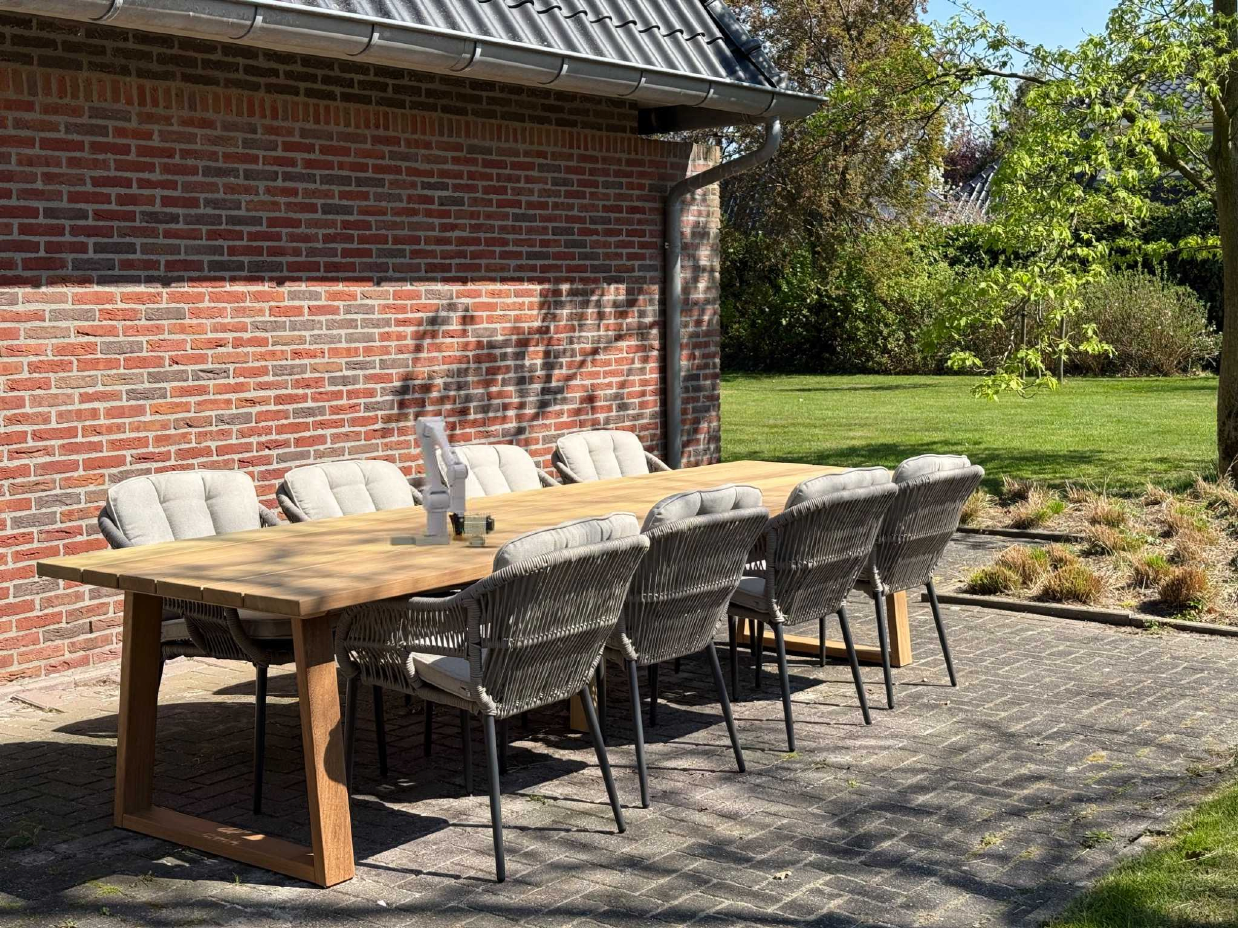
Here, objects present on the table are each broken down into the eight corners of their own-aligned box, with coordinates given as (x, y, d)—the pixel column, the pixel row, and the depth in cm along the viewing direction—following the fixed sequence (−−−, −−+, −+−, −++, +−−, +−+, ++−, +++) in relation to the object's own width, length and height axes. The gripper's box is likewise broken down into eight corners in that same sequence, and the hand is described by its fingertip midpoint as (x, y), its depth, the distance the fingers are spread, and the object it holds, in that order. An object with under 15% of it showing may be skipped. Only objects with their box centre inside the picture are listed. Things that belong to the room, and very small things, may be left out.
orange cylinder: (453, 539, 541) (452, 520, 541) (461, 539, 542) (461, 519, 542) (454, 540, 538) (454, 521, 538) (462, 540, 539) (462, 520, 539)
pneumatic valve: (462, 545, 526) (462, 511, 525) (495, 545, 525) (494, 512, 523) (458, 547, 521) (458, 513, 520) (491, 548, 519) (491, 513, 518)
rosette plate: (388, 542, 534) (388, 535, 534) (443, 539, 540) (443, 532, 540) (393, 546, 523) (393, 539, 523) (449, 544, 529) (449, 537, 529)
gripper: (442, 495, 545) (443, 532, 546) (450, 499, 531) (450, 537, 532) (461, 494, 547) (462, 531, 548) (469, 499, 533) (470, 536, 534)
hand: (457, 534), depth 540 cm, fingers closed on orange cylinder, 3 cm apart
